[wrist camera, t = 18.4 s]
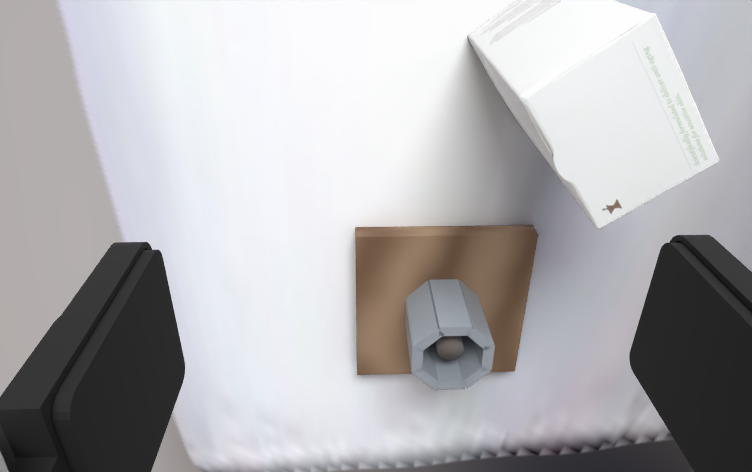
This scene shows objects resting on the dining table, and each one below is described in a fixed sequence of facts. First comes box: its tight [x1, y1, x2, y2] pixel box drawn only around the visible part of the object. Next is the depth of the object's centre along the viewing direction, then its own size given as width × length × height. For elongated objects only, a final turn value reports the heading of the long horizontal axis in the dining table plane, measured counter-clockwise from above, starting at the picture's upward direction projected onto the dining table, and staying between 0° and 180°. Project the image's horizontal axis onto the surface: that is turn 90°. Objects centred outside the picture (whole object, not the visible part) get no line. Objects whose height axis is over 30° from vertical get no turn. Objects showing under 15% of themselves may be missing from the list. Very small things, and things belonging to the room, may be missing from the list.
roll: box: [405, 279, 495, 390], centre depth 44 cm, size 6×6×6 cm
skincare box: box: [468, 0, 719, 229], centre depth 32 cm, size 8×7×16 cm
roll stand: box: [356, 225, 538, 375], centre depth 45 cm, size 14×14×6 cm
